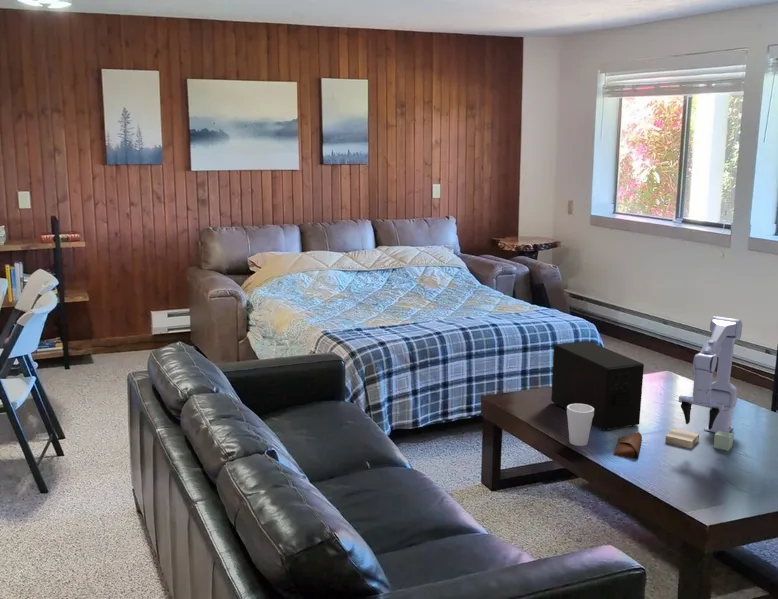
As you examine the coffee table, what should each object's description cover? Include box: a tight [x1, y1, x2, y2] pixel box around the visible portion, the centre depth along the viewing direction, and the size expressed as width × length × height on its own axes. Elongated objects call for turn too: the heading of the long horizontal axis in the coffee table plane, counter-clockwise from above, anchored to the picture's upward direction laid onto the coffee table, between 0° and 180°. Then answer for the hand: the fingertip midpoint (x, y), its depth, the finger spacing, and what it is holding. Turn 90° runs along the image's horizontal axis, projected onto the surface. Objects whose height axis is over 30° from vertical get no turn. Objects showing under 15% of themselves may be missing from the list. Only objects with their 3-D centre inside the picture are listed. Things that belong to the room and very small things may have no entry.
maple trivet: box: [664, 428, 700, 449], centre depth 285 cm, size 9×9×3 cm
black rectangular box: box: [550, 340, 645, 431], centre depth 309 cm, size 38×20×25 cm, turn 22°
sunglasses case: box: [612, 431, 643, 460], centre depth 279 cm, size 18×7×7 cm
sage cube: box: [713, 430, 734, 452], centre depth 280 cm, size 5×5×5 cm
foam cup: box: [566, 404, 594, 447], centre depth 283 cm, size 10×9×13 cm
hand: (698, 425), depth 273 cm, fingers open, 7 cm apart
